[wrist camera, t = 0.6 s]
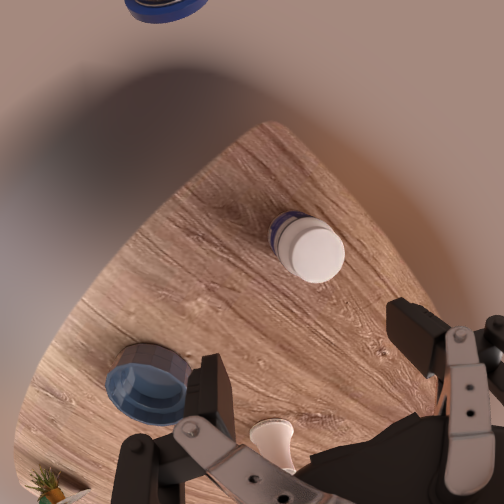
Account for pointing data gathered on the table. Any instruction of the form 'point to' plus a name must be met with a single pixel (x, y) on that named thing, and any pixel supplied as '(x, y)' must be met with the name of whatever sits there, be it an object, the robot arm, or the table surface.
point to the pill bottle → (306, 246)
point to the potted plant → (54, 489)
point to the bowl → (149, 384)
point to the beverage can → (44, 501)
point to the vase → (274, 442)
